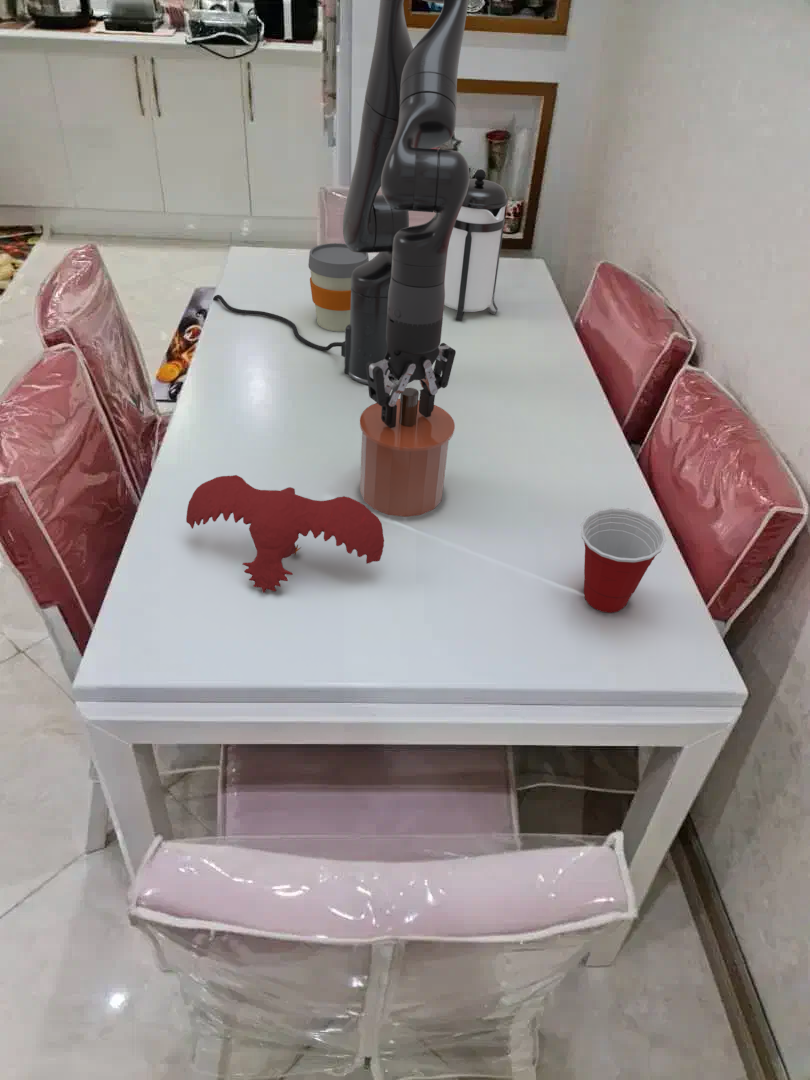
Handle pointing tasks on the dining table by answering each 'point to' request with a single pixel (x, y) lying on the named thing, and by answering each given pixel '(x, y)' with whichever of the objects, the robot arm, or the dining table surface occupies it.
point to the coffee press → (475, 248)
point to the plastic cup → (617, 555)
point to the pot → (402, 478)
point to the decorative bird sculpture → (285, 523)
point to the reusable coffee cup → (333, 283)
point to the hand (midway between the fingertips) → (407, 419)
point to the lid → (408, 425)
